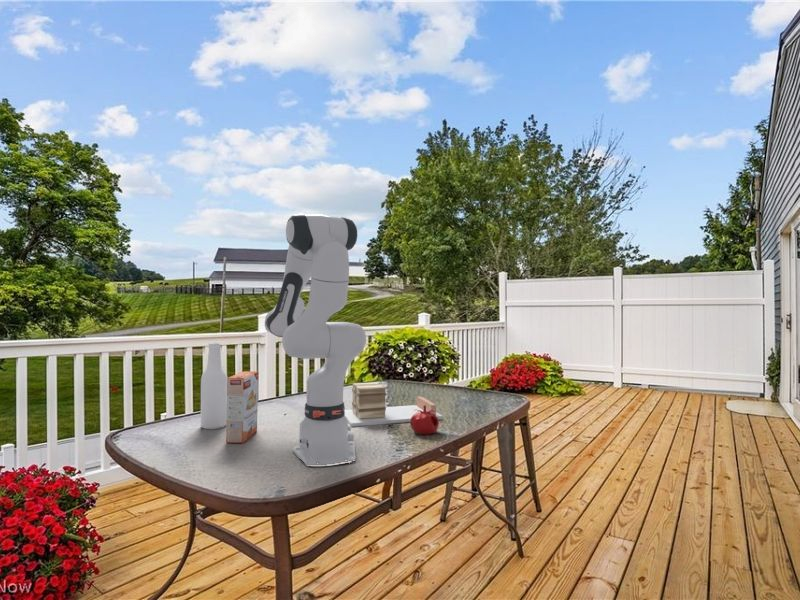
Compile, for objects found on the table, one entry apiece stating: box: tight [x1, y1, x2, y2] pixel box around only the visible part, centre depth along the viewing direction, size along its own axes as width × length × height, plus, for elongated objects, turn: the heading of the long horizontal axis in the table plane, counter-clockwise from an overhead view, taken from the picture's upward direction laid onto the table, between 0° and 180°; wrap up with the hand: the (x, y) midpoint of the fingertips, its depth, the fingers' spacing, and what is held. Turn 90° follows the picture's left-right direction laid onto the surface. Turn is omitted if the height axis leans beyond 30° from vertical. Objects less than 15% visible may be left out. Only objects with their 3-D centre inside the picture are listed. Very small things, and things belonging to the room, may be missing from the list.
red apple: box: [409, 405, 440, 435], centre depth 159 cm, size 10×10×9 cm
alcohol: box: [200, 341, 228, 430], centre depth 164 cm, size 9×9×30 cm
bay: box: [344, 395, 444, 427], centre depth 180 cm, size 20×36×5 cm, turn 108°
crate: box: [351, 381, 387, 419], centre depth 177 cm, size 12×10×11 cm
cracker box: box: [225, 371, 259, 444], centre depth 152 cm, size 14×6×21 cm, turn 179°
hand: (344, 341), depth 172 cm, fingers open, 8 cm apart
